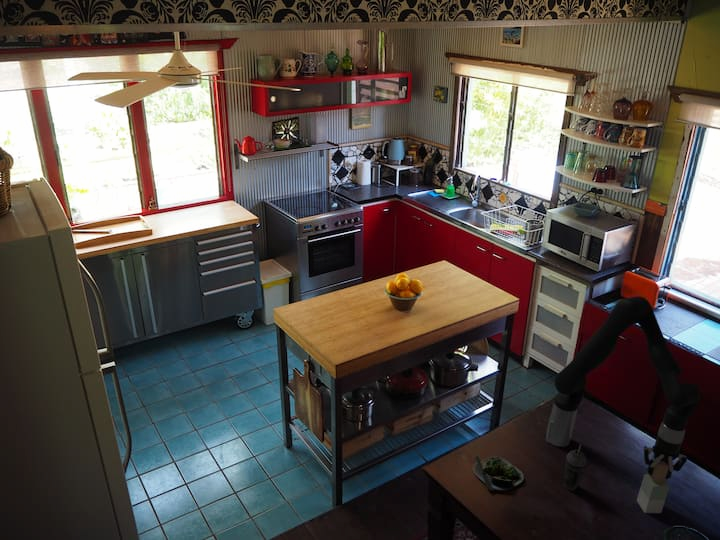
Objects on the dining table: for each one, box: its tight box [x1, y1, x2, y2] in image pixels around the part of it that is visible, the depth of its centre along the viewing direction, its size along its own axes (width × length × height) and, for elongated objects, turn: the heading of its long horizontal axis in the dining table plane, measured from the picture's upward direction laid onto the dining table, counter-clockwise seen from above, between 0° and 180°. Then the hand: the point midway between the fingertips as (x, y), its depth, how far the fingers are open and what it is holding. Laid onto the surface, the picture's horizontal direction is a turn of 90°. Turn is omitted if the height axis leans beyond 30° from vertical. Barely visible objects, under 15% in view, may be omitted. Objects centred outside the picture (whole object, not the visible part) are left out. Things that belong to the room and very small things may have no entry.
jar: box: [650, 461, 669, 483], centre depth 209 cm, size 5×5×7 cm
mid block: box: [640, 473, 671, 501], centre depth 211 cm, size 6×6×6 cm
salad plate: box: [473, 455, 525, 493], centre depth 225 cm, size 19×18×5 cm
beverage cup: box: [563, 443, 587, 492], centre depth 218 cm, size 7×7×20 cm
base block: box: [636, 487, 666, 514], centre depth 214 cm, size 6×6×6 cm
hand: (658, 475), depth 210 cm, fingers closed on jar, 4 cm apart
